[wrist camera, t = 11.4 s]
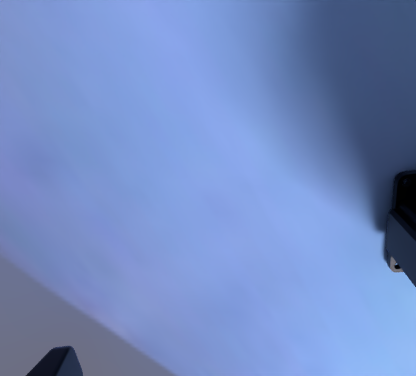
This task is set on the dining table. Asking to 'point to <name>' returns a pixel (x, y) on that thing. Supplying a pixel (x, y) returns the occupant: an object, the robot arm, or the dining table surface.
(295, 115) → the dining table surface
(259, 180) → the dining table surface
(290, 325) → the dining table surface
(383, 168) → the dining table surface
